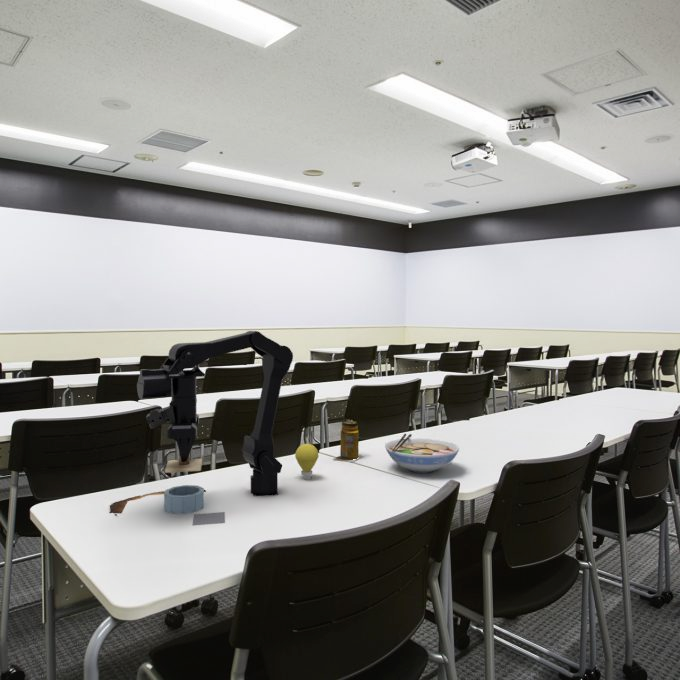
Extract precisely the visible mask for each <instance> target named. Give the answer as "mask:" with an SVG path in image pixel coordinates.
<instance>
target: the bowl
mask: <svg viewBox="0 0 680 680" xmlns="http://www.w3.org/2000/svg"><path fill="white" fill-rule="evenodd" d="M204 490H205V488H204V487H202V486H200V485H195V484H194V485H193V484H191V485H190V484H185V485H184V484H183V485H179V486H178V485H177V486H172V487H170V488H168V489H165V490H164V491H165V493H164V494H163V499H164V500H163V506H164V507H163V508H164V511H165V512H167V513H170V514H176V515H177V514H178V515H179V514H180V515H182V514H183V515H185V514H190V513H194V512H198V511H201V510H202V509H203V508H204V504H205V502H204V501H205V500H204V499H205V492H204Z"/></svg>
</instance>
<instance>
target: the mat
mask: <svg viewBox="0 0 680 680" xmlns="http://www.w3.org/2000/svg"><path fill="white" fill-rule="evenodd" d="M216 524H218V525H219V524H226V513H225V511H222V512H221V511H220V512H219V511H218V512H207V513H205V512H203V513H194V514H193V518H192V524H191V525H192V526H203V525H216Z"/></svg>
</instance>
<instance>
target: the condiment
mask: <svg viewBox="0 0 680 680" xmlns="http://www.w3.org/2000/svg"><path fill="white" fill-rule="evenodd" d="M358 424H359V423H358V421H352V420H346V421H342V422H341V430H340V448H339V449H340V455H339V456H336V457H334V458H333V460H334V461H335V460H336V461H340V462H349V463H355V462H356V461H358V459H357V458H358V457H361V458H363V455H359V443H360V442H359V433H360V432H359V429H358ZM353 459H356V460H353Z"/></svg>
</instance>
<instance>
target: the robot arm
mask: <svg viewBox="0 0 680 680" xmlns="http://www.w3.org/2000/svg"><path fill="white" fill-rule="evenodd" d="M249 348H250V349H252V351H254V352H255V353H256V354H257V355H258V356H260V357H261V358H262V360H261V365H262V366H261V367H262V372H263V373H262V374H263V382H262V388H261V392H260V398H259V402H258V408H257V413H256V418H255V422H254V423H255V424H254V428H253V431H252V432H251V433H250V435H249V436H248V435H244V437H243V446H242V447H241V449H240V451H242V457H243V459H244V460H245V462H247V463H248V464H249V465H248V466H249V468H250V469H252V474H251V475H250V494H252V496H253V497H267V496H278V495H279V492H278V474H280V473H281V471H282V467H283V464H282V463H281V462H280V461H279V460H278V459H277V458H276V457H275V456H274V455H275V453H274V452H275V444H274V439H273V429H274V424H275V420H276V413H277V407H278V405H279V404H278V402H279V397H280V392H281V388H282V381H283V380H284V378H285V376H286V375H287V373H289V370H290V368H291V365H292V363H293V359H294V354H293V352H292V350H291V349H290V347H289V346H287V345H280V344H279V343H278V342H276V341H274V340H272V339H271V338H268V337H267V336H266V335H264V334H263V333H261V332H260V331H256V330H248V331H245V332H243V333H239V334H235V335H231V336H227V337H222V338H221V337H220V338H218V339H214V340H210V341H204V342H181V343H180V342H179V343H176V344H173V345H172V346H171V347H170V349H169V351H168V357H167V358H166V359H165V361H164V362H163V363H162V364H161V366H160V368H159V369H146V368H143V369H142V368H141V369H139V376H138V377H137V378H138V380H137V382H136V390H137V395H138V399H139V400H148V399H149V400H150V399H158V398H159V399H162V398H163V399H164V398H166V397H167V395H170V394H171V400H170V402H169V405H168V406H165V407H163V408H160V409H158V408H156V409H154V410H151V411H150V412H149V413H148V414H147V415H146V416H145V418H146V420H147V421H146V423H147V424H148V425H149V427H150V428H149V429H152V430H153V429H155V428H157V427H158V426H160V425H164V424H166V423H168V424H169V425H170V426H169V427H168V428H167V431H166V432H167V433H166V434H167V435H166V436H167V440H168V439H169V440H174V441H175V442H176V445H177V448H178V454H179V453H180V457H181V461H182V462H187V459H188V456H189V457H190V454H191V451H192V448H193V447H194V446H193V445H194V443H195V440H196V438H197V435H198V429H199V427H197V426H198V425H199V424H200V415H199V414H198V413H197V402H198V400H197V377H199V378H200V377H205V376H206V374H205V372H203V371H202V370H201V369H200V368H199V365H200V364H203V363H205V362H207V361H208V360H209V359H211V358H214V357H218V356H223V355H226V354H229V353H233V352H238V351H242V350H245V349H249ZM191 368H192V369H191Z"/></svg>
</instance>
